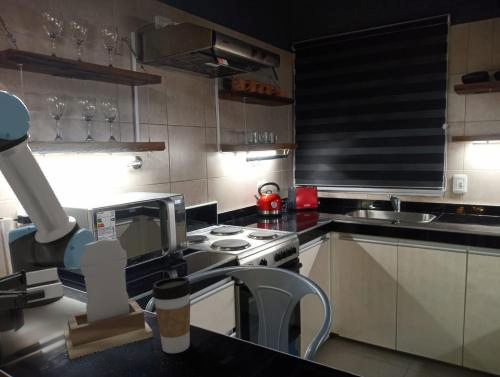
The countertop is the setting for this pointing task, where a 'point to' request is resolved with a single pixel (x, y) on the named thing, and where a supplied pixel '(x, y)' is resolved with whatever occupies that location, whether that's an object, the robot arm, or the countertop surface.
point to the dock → (105, 331)
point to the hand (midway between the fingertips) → (59, 280)
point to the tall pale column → (105, 279)
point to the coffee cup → (173, 313)
